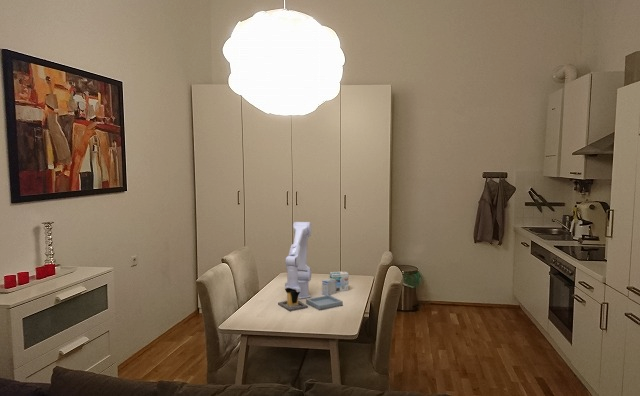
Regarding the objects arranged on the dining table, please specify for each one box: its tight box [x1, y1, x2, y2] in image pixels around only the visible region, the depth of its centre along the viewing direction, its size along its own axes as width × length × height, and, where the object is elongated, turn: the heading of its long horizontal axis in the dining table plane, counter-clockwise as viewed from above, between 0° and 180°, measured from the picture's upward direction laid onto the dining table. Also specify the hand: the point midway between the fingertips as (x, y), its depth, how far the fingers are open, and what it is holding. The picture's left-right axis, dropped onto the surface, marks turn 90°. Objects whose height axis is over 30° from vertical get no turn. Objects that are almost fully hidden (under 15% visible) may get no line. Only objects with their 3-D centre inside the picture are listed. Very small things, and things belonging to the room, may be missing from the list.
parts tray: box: [305, 295, 344, 311], centre depth 247 cm, size 14×15×2 cm
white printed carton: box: [329, 270, 350, 292], centre depth 276 cm, size 11×7×11 cm, turn 105°
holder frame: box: [277, 300, 309, 312], centre depth 245 cm, size 14×11×1 cm
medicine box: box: [321, 277, 337, 296], centre depth 268 cm, size 8×4×9 cm, turn 141°
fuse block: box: [286, 292, 299, 308], centre depth 245 cm, size 4×5×8 cm
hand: (292, 301), depth 245 cm, fingers closed on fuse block, 3 cm apart
